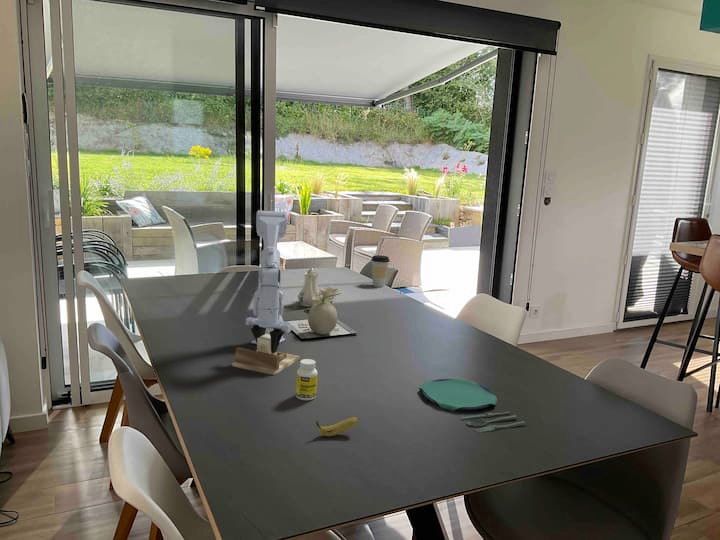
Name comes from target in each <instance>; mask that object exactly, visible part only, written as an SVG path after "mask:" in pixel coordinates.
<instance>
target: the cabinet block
mask: <svg viewBox="0 0 720 540" xmlns="http://www.w3.org/2000/svg"><path fill="white" fill-rule="evenodd" d="M256 351H259V352H264V353H269V354H274V355H277V352H278V351H277V352H275V353H271V337H270V335H269V334H265V335H263V336H261V337H259V338H257V344H256Z"/></svg>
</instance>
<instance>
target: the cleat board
mask: <svg viewBox="0 0 720 540" xmlns="http://www.w3.org/2000/svg"><path fill="white" fill-rule="evenodd" d="M234 353H235V356H234V357H235V361H233V362H232V363H231V364H232V365H231V366H232V367H235V368H239V369H244V370H248V371H253V372H257V373H262V374H267V375H271V376H275V375H277V374H278V373H280V372H281V371H283V370H285V369H286V368H288V367H290V366H291V365H293V364H295V363H296V362H298V361H299V360H300V359H301V356H300V355H296V354H291V353H286V352H281V351H277V355H274V354H269V353H264V352H259V351H257V350H254V349H249V348H243V347H236V348H235V352H234Z"/></svg>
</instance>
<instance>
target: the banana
mask: <svg viewBox="0 0 720 540" xmlns="http://www.w3.org/2000/svg"><path fill="white" fill-rule="evenodd" d="M358 421H359V418H358V417H356V416H355V417H354V416H353V417H349V418H346V419H343V420H342V421H340V422H337V423H336V424H332V425H327V426H322V425H320V424H319V420H316V422H315V424H316V426H317V427H318V431H319V434H321V436H324V437H334V436H338V435H340V434H342V433H344V432H346V431H348V430H350V429H351V428H353V427H354V426H355V425H356V424H357V423H358Z"/></svg>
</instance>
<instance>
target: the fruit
mask: <svg viewBox="0 0 720 540" xmlns="http://www.w3.org/2000/svg"><path fill="white" fill-rule="evenodd" d="M340 294H341V295H342V293H341V292H340V293H337V294H334V295H329V296H325V297H322V298H321V299H320V300H319V302H318V303H317V304H315V305H314V306H313V307H310V309H309V312H308V315H307V322H308V326H309V329H310V330H311V331H312V332H313V333H315V334H318V335H321V334H322V335H323V334H324V335H328V334H330V333H332V332H333V331H334V329H336V327H337V323H338V312H337V309H336V308H335V306H334V305H332V304H331V302H330V303H327V302H324V300H325V298H328V297H331V296H335V295H336V296H338V295H340ZM321 300H322V302H320V301H321ZM322 335H321V336H322Z"/></svg>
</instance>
